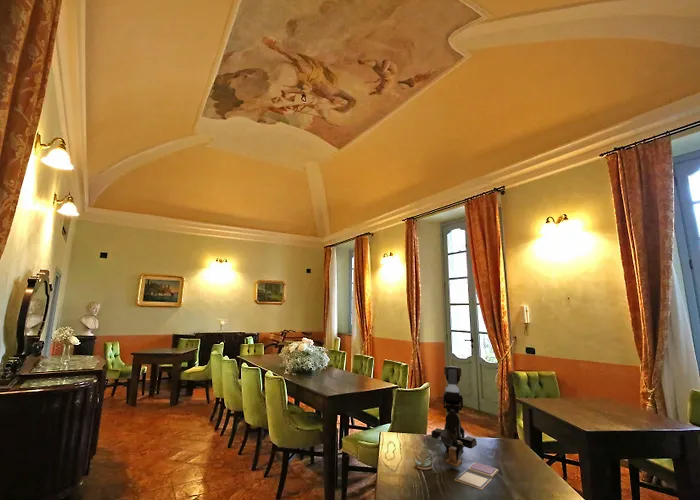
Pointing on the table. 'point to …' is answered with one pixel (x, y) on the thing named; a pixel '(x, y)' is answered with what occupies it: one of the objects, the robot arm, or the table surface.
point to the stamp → (453, 458)
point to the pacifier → (423, 462)
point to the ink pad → (483, 469)
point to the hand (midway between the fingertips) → (453, 459)
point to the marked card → (473, 479)
